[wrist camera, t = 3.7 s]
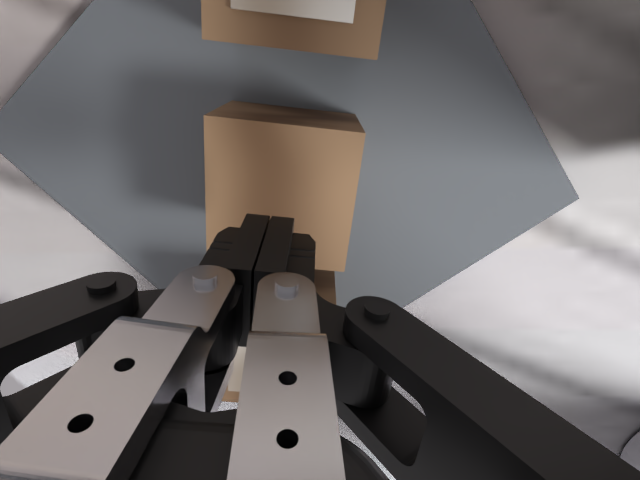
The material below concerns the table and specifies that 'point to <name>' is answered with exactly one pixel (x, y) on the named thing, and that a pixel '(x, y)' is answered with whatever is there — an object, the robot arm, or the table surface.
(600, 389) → the table surface
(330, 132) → the plain block
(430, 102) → the mat
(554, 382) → the table surface
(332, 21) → the marked block 1
